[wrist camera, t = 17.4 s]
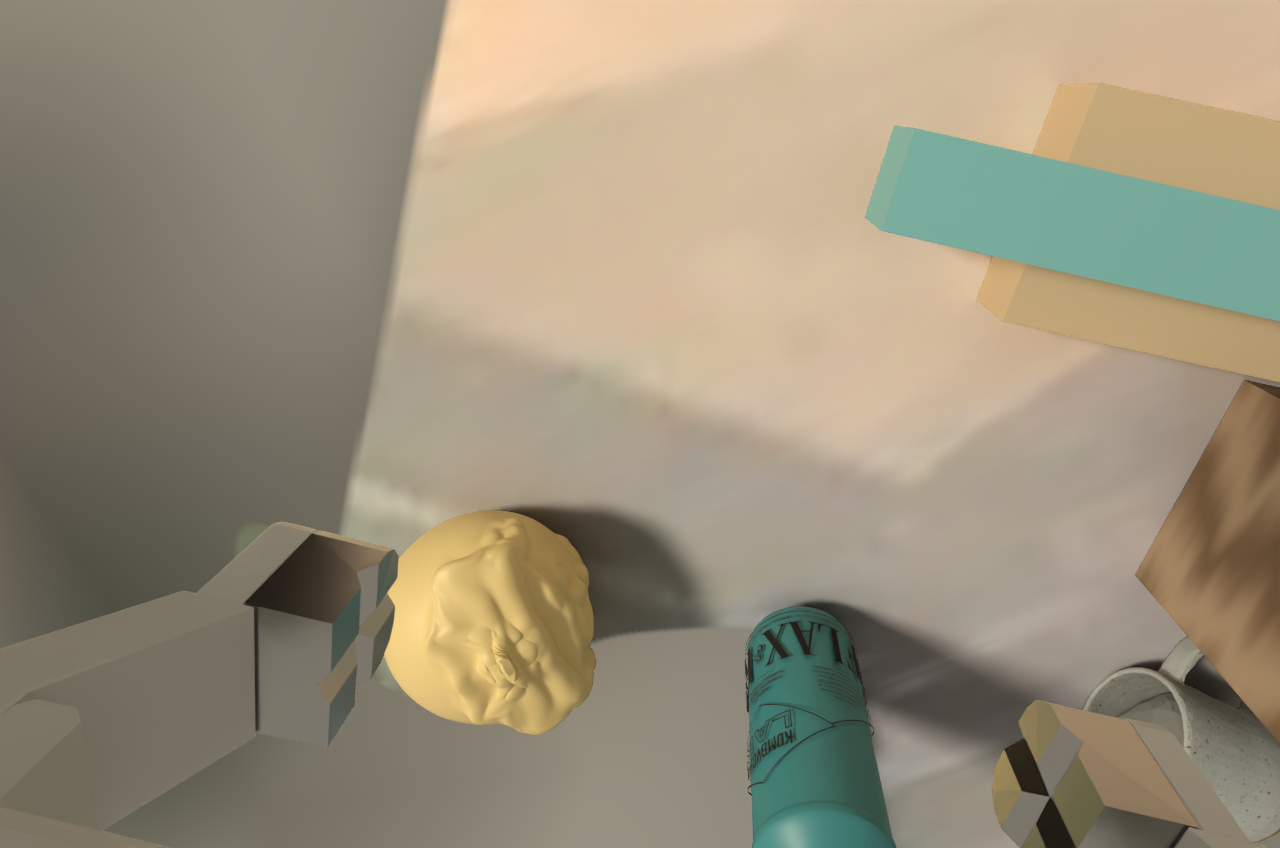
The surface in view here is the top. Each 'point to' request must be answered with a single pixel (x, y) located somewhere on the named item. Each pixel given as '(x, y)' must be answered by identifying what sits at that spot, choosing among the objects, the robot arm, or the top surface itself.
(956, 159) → the teal carton
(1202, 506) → the walnut stand
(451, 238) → the top surface
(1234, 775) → the ceramic mug
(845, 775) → the beverage bottle
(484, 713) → the sculpture
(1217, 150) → the kraft parcel
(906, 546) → the top surface
